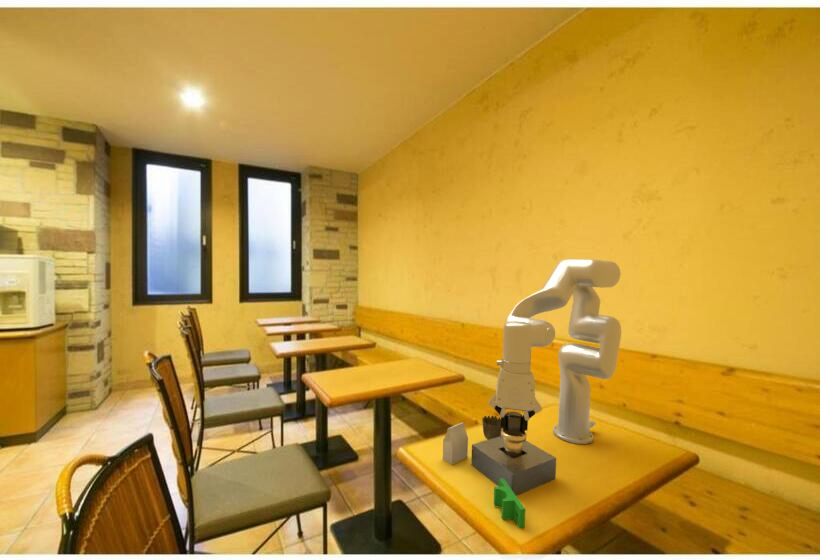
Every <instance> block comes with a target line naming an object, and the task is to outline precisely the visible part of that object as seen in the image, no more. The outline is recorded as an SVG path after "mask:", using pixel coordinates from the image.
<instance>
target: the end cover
mask: <svg viewBox="0 0 820 560" xmlns="http://www.w3.org/2000/svg"><path fill="white" fill-rule="evenodd" d="M505 413H506V432H503V428H502V429H501V437H502V438H503V439H504V453H506V454H507V455H509V456H510V457H512V458H516V457H519V456H522V447H523V442H524V441H527V431H525V435H523V434H522V419H523V415H524V414H522V413H520V412H518V411H506V412H505Z"/></svg>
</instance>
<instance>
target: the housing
mask: <svg viewBox="0 0 820 560" xmlns="http://www.w3.org/2000/svg"><path fill="white" fill-rule="evenodd" d="M470 461H471V463H470V464H471V466H472V467H473V468H474V469H476V470H477V471H478V472H480V473H481V474H482V475H483V476H485V477H486V478H487V479H489V481H491V482H493V483H494V484H495V485H496V486H497V487H499V479H502V478H504V480H505V481H506V482H507V484H508V485H509V487H510V488H511V490H512V491H513V492H514V494H515V495H516V497H518V496H519V495H522V494H525V493H526V492H529V491H532V490H533V489H536V488H538V487H540V486H543V485H545V484H548V483H550V482H553V481H555V480H556V477H557V476H556V475H557V474H556V472H557V471H556V470H557V457H555V456H554V455H552V454H551V453H549V452H547V451H546V450H544V449H542V448H540V447H538V446H537V445H534V444H533V443H531V442H529V441H528V440H526V441H524V442H523V447H522V456H519V457H516V458H512V457H510V456H509V455H507V454H506V453H504V439H503V438H502V437H501V436H499V437H496V438H493V439H489V440H487V439H486V440H483V441H480V442H476V443H473V444H471V460H470Z"/></svg>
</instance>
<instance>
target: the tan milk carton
mask: <svg viewBox="0 0 820 560" xmlns="http://www.w3.org/2000/svg"><path fill="white" fill-rule="evenodd" d="M442 441H443V443H442V460H443V461H444V462H446V463H448V464H449V465H452V466H453V465H455V464H457V463H458V462H461V461H462V460H464V459H467V458H468V453H469V451H468V450H469V449H468V448H469V437H468V433H467V429H466V426H465V422H460V423H457V424H456V425H453V426H450V427H448V428H447V430H446V433H445V435H444V437H443V439H442Z"/></svg>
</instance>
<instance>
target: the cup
mask: <svg viewBox="0 0 820 560" xmlns="http://www.w3.org/2000/svg"><path fill="white" fill-rule="evenodd" d="M481 419H482V420H481V422H482V432H483V436H484V437H485V439H486V440H489V439H493V438H496V437H499V436H501V429H502V428H503V427H501V417H500V416H498V417H497V415H491V416H490V415H488V416H486V415H484V416H483V417H482V418H481Z"/></svg>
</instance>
